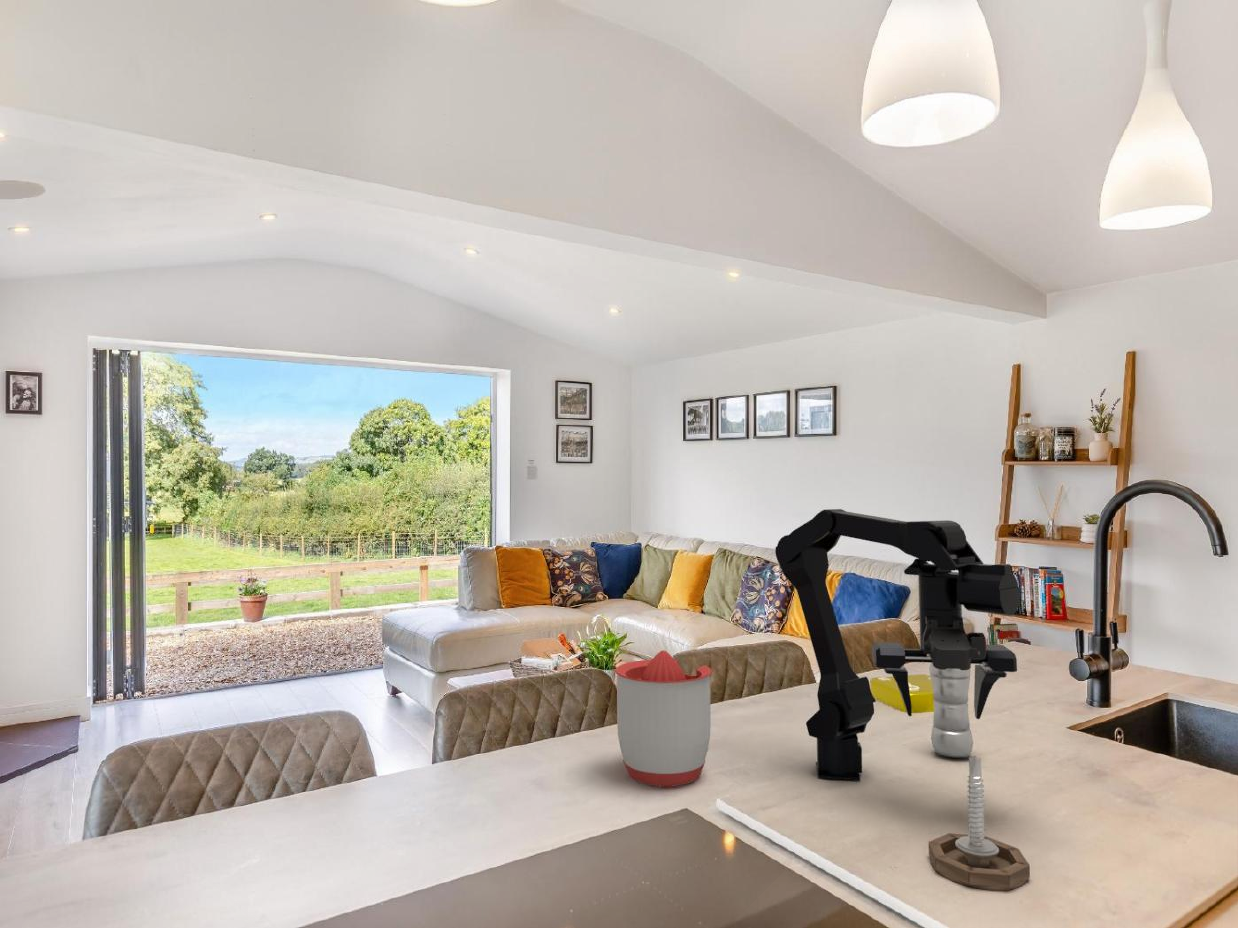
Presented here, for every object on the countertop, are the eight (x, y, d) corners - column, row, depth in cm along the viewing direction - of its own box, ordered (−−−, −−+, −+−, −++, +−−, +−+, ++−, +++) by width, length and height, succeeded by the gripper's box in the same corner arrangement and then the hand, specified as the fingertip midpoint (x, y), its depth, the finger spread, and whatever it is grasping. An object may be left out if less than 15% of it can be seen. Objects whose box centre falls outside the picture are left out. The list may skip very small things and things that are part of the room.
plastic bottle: (977, 763, 131) (975, 642, 132) (934, 760, 132) (932, 641, 133) (968, 750, 137) (966, 635, 138) (927, 748, 139) (925, 634, 139)
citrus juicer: (738, 770, 128) (737, 647, 129) (671, 802, 115) (669, 665, 116) (664, 749, 139) (663, 636, 139) (595, 776, 126) (595, 650, 127)
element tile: (970, 710, 164) (969, 687, 164) (906, 715, 160) (906, 692, 160) (926, 692, 178) (925, 671, 179) (866, 697, 175) (866, 675, 175)
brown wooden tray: (940, 885, 91) (940, 869, 91) (923, 844, 101) (922, 830, 101) (1039, 894, 88) (1039, 878, 89) (1011, 851, 99) (1011, 837, 99)
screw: (946, 858, 96) (977, 851, 98) (977, 876, 92) (1008, 869, 94) (944, 751, 97) (974, 746, 99) (974, 764, 92) (1006, 758, 94)
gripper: (880, 614, 107) (882, 730, 107) (1027, 617, 104) (1031, 736, 103) (870, 603, 118) (872, 708, 118) (1003, 605, 115) (1007, 713, 114)
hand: (943, 716), depth 113 cm, fingers open, 9 cm apart
